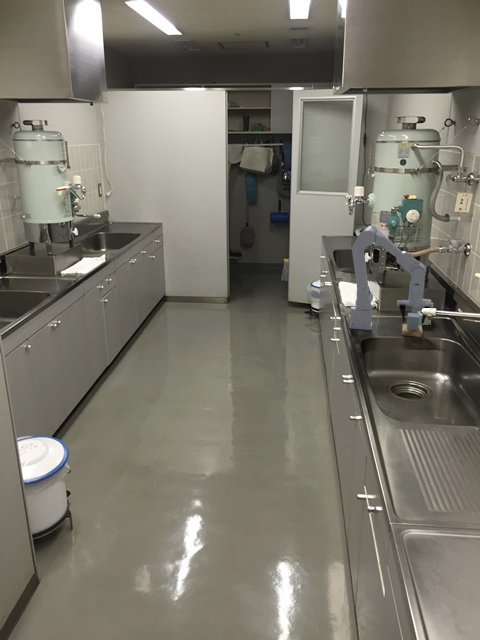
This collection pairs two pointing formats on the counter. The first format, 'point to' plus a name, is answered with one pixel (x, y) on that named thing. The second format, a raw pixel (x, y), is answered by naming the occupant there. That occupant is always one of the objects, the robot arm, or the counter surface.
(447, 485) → the counter surface
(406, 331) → the oak block
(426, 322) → the green block
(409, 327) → the blue block
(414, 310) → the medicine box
